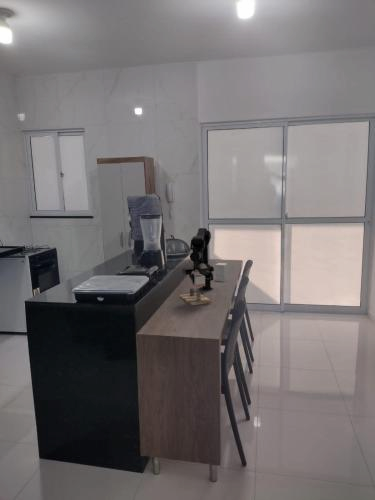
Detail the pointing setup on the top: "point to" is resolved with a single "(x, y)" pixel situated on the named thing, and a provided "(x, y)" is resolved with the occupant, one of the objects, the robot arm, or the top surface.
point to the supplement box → (221, 272)
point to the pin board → (195, 298)
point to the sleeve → (199, 280)
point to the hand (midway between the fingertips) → (198, 283)
